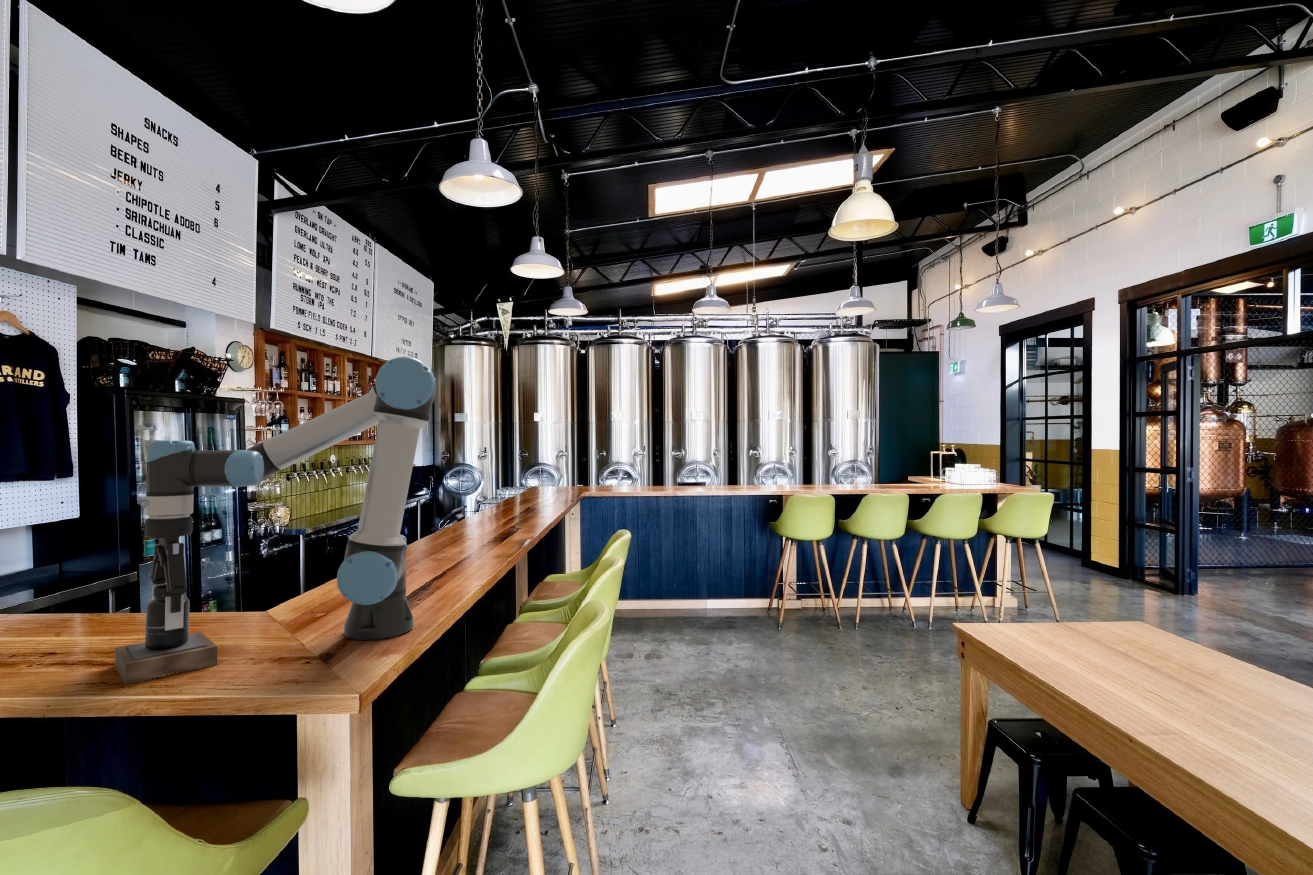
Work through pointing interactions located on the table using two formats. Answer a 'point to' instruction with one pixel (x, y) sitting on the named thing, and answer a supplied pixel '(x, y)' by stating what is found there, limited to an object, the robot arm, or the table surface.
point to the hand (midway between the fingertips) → (167, 622)
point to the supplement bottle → (156, 624)
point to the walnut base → (164, 659)
